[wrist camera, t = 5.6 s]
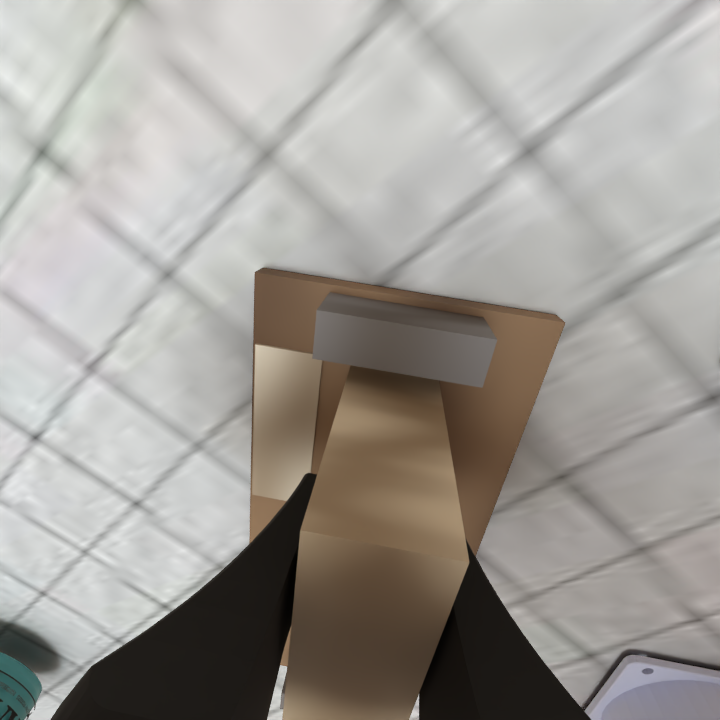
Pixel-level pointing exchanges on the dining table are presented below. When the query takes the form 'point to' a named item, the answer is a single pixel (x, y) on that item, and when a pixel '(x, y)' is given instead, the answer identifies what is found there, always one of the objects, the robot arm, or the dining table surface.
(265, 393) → the brown board with blocks
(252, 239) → the dining table surface
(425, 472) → the tall tan box
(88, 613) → the dining table surface
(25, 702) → the beverage bottle
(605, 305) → the dining table surface
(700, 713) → the robot arm
